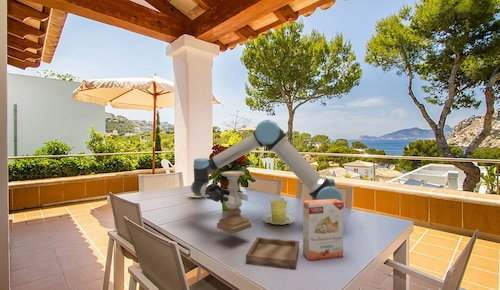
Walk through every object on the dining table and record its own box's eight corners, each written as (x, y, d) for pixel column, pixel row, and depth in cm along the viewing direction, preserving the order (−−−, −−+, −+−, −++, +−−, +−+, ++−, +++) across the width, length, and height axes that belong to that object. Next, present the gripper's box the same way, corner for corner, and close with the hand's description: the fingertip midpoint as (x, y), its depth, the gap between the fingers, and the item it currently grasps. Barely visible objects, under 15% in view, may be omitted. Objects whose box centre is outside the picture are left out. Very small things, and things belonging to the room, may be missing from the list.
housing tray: (299, 248, 103) (299, 240, 103) (295, 269, 86) (295, 260, 86) (257, 244, 107) (257, 237, 107) (246, 263, 91) (245, 255, 91)
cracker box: (309, 261, 92) (308, 203, 91) (302, 254, 98) (302, 199, 97) (344, 257, 94) (344, 201, 94) (335, 250, 100) (335, 197, 100)
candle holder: (216, 227, 110) (215, 172, 110) (235, 221, 118) (234, 170, 118) (232, 233, 102) (231, 174, 102) (252, 226, 110) (250, 171, 110)
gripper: (228, 196, 130) (258, 203, 113) (193, 202, 117) (221, 212, 100) (228, 181, 130) (258, 187, 112) (193, 186, 117) (220, 193, 100)
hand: (240, 199), depth 106 cm, fingers closed on candle holder, 7 cm apart
